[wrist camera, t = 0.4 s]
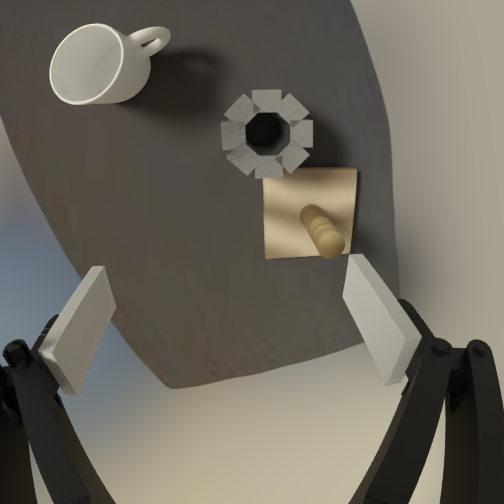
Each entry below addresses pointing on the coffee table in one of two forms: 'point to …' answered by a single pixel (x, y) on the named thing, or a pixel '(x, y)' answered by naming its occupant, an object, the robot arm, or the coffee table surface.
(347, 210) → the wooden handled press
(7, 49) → the coffee table surface
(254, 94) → the studded hollow tube
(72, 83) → the mug
